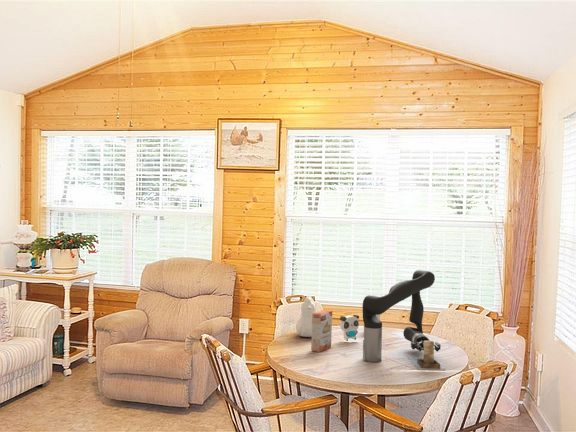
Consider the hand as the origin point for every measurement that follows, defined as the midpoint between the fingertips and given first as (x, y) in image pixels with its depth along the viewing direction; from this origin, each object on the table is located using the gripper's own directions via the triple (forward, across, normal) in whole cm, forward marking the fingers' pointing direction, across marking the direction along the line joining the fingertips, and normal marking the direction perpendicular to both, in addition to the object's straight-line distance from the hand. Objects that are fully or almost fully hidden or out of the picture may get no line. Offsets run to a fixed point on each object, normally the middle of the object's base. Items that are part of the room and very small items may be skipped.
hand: (429, 349), depth 267 cm
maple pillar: (-1, 0, +8) cm, 8 cm away
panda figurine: (-52, -33, +9) cm, 63 cm away
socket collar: (-1, 0, +9) cm, 9 cm away
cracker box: (-32, -51, +10) cm, 61 cm away
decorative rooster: (-66, -56, +10) cm, 87 cm away
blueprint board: (-7, 0, +9) cm, 11 cm away
